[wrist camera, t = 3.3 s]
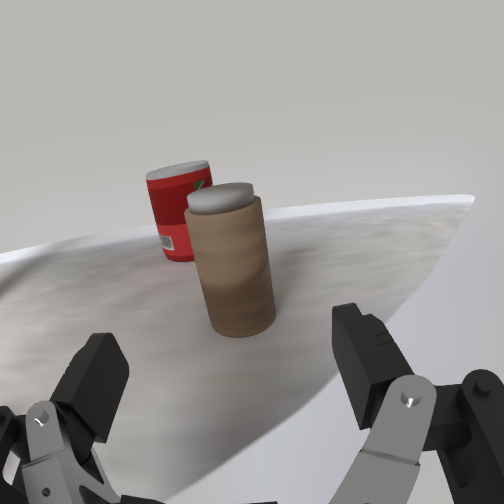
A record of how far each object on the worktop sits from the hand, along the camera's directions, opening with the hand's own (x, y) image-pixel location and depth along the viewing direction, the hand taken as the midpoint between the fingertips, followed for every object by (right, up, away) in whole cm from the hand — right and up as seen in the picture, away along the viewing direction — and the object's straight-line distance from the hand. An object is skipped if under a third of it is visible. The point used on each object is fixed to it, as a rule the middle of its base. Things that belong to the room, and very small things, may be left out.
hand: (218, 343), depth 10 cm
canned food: (-6, +3, +28) cm, 29 cm away
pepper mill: (0, -2, +13) cm, 13 cm away
